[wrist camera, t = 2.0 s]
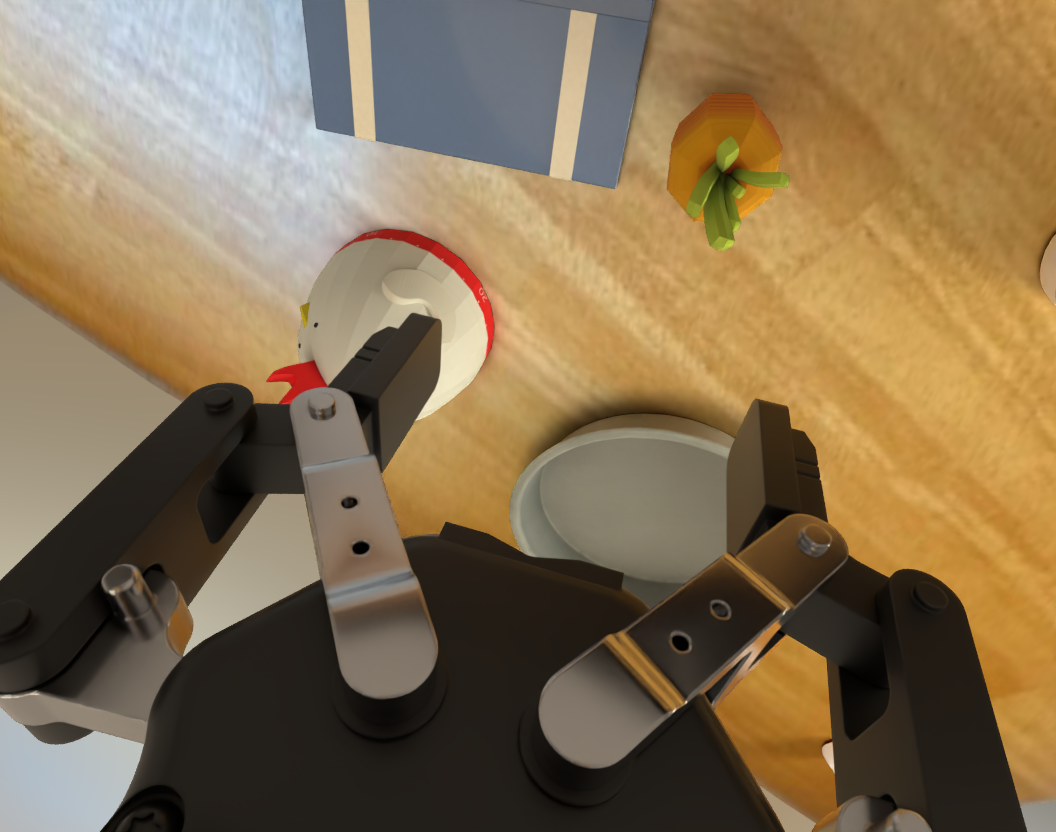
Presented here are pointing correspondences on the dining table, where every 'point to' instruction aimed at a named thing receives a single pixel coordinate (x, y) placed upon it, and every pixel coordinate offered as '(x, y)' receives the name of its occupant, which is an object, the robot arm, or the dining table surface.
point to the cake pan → (629, 500)
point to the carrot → (724, 164)
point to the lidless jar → (828, 754)
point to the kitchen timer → (391, 311)
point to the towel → (483, 78)
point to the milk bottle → (1049, 271)
